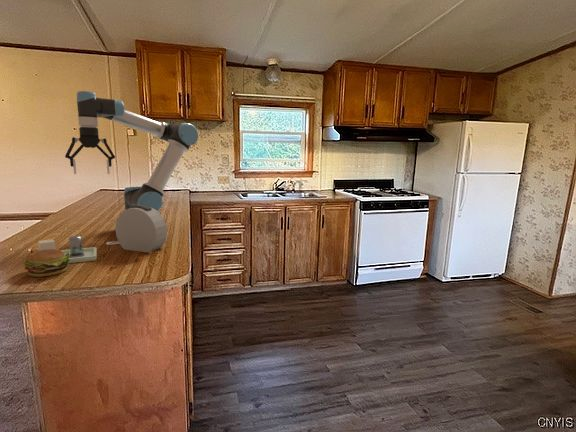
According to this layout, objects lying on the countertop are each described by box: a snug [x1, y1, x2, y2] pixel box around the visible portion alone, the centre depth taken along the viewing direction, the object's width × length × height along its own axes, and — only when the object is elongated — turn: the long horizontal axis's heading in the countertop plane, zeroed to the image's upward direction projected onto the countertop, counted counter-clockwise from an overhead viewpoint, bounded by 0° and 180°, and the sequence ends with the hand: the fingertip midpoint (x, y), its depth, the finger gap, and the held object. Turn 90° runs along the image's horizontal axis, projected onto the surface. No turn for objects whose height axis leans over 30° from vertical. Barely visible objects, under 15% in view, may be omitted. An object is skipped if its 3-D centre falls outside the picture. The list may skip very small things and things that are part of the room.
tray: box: [60, 246, 98, 264], centre depth 140 cm, size 14×14×2 cm
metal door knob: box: [68, 235, 84, 258], centre depth 139 cm, size 5×5×8 cm
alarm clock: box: [114, 205, 168, 253], centre depth 153 cm, size 21×8×20 cm, turn 74°
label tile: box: [106, 240, 120, 246], centre depth 162 cm, size 6×4×1 cm, turn 118°
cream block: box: [37, 238, 57, 251], centre depth 145 cm, size 5×5×5 cm
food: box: [22, 248, 70, 278], centre depth 123 cm, size 14×14×8 cm
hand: (92, 173), depth 163 cm, fingers open, 13 cm apart
